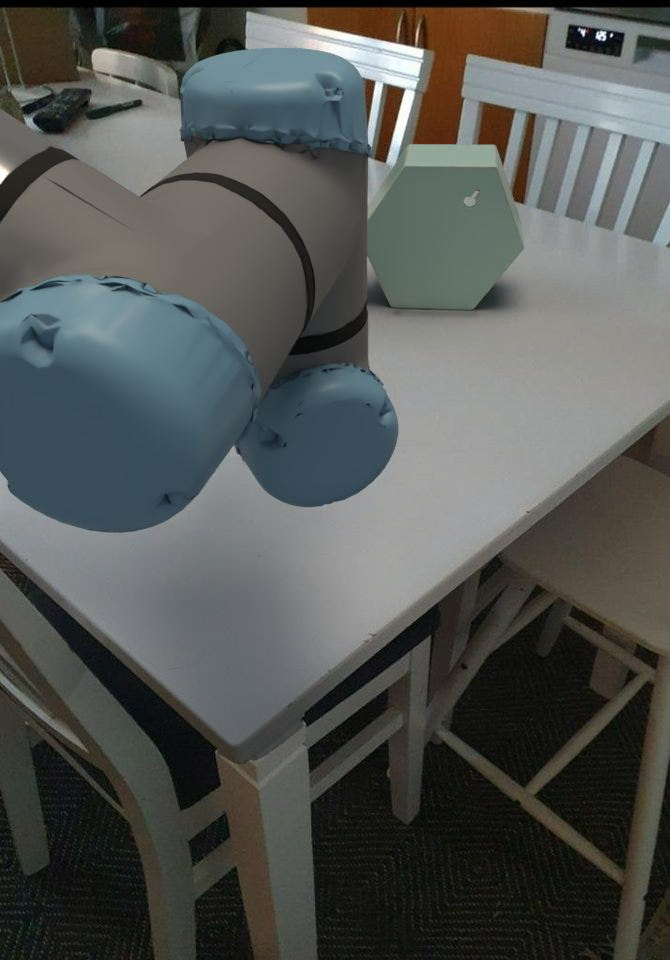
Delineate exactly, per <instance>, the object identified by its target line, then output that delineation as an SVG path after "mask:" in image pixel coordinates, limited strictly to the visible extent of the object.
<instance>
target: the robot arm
mask: <svg viewBox="0 0 670 960" xmlns="http://www.w3.org/2000/svg"><path fill="white" fill-rule="evenodd" d="M179 96H180V120H181V126H180V129H178V130H179V133H180V141H181V143H182V142H183V145H184V150H185V154H186V159H185V160H183V161H182V162H181V163H180V164H178V165H177V166H176V167H175V168H174V169H172V170H171V171H170V172H168V173H167V174H166V175H165V176H163V177H162V178H161V179H160V180H159V181H158V182H156V183H155V184H153V185H152V186H150V187H149V188H147V190H145V191H144V192H143V193H142V194H140V196H139V195H137V194H136V193H135V192H133V191H132V190H130V189H128V188H127V187H125V186H124V185H122V184H121V183H119V182H118V181H116V180H114V179H113V178H111V177H110V176H108V175H107V174H105V173H103V172H102V171H100V170H98V169H96V168H95V167H93V166H91V165H89V164H88V163H86V162H84V161H82V160H81V159H79V158H77V157H76V156H75V155H73V154H71V153H70V152H68V151H67V150H65V149H64V148H62V147H61V146H59V145H57V144H56V143H54V142H53V141H52V140H49V138H47V137H45V136H43V135H42V134H40V133H39V132H38V131H36V130H34V129H33V128H31V127H29V126H28V125H27V124H25V123H24V122H21V120H18V118H15V117H14V116H13V115H11V114H9V113H8V112H7V111H5V110H3V109H2V108H0V473H1V475H2V476H3V478H4V479H5V480H6V482H7V483H6V484H7V489H8V491H9V492H10V494H11V495H12V496H14V497H15V498H16V499H18V500H19V501H20V502H22V503H23V504H25V505H26V506H28V507H29V508H31V509H32V510H34V511H36V512H38V513H40V514H41V515H44V516H45V517H47V518H49V519H52V520H55V521H57V522H58V523H61V524H65V525H68V526H71V527H74V528H79V529H82V530H86V531H90V532H98V533H110V534H111V533H113V534H116V533H117V534H119V533H120V534H122V533H123V534H125V533H132V532H133V533H134V532H139V531H142V530H146V529H149V528H154V527H156V526H159V525H161V524H164V523H165V522H167V521H168V520H170V519H172V518H173V517H175V516H176V515H178V514H179V513H181V512H182V511H183V510H184V509H185V508H187V507H188V505H190V504H191V502H192V501H193V500H194V499H195V498H196V497H197V496H199V494H200V493H201V492H202V490H203V489H204V487H205V486H206V485H207V483H208V482H209V480H210V479H211V478H212V477H213V475H214V473H216V471H217V469H218V468H219V466H220V465H221V464H222V463H223V461H224V460H225V458H226V457H227V455H229V453H230V451H231V450H232V448H233V447H234V449H235V451H236V454H237V455H239V457H240V458H241V459H242V461H244V463H245V464H246V466H247V467H248V469H249V471H250V472H251V474H252V475H253V477H254V479H255V480H256V482H257V483H258V484H259V486H260V487H261V488H262V489H263V490H264V492H266V493H267V494H268V495H270V496H271V497H273V498H274V499H276V500H277V501H279V502H282V503H284V504H287V505H291V506H294V507H301V508H317V507H323V506H325V505H331V504H333V503H337V502H342V501H345V500H347V499H349V498H352V497H353V496H355V495H357V494H358V493H361V491H363V490H365V489H366V488H367V487H369V486H370V485H371V484H372V483H374V481H375V480H376V479H378V477H379V476H380V475H381V474H382V472H383V471H384V470H385V469H386V467H387V465H388V464H389V462H390V461H391V459H392V457H393V454H394V452H395V449H396V446H397V443H398V439H399V429H400V428H399V420H398V415H397V412H396V408H395V406H394V405H393V402H392V400H391V398H389V395H388V393H387V389H385V387H384V385H385V383H383V381H381V379H380V378H379V377H378V376H377V375H376V373H374V372H373V371H372V370H371V367H370V364H369V360H370V359H369V311H368V256H367V216H368V205H369V202H368V201H369V199H368V198H369V196H368V195H369V187H368V186H369V159H370V158H372V156H373V148H372V146H371V145H370V144H369V134H368V133H369V132H368V131H369V130H368V118H367V104H366V103H367V102H366V101H367V100H366V87H365V82H364V79H363V77H362V75H361V73H360V71H359V69H358V68H357V67H356V66H355V65H354V64H353V63H352V62H351V61H349V60H348V59H346V58H344V57H342V56H340V55H338V54H335V53H332V52H328V51H323V50H319V49H313V48H312V49H311V48H302V47H301V48H299V47H260V48H251V49H249V48H248V49H242V50H241V49H240V50H233V51H228V52H224V53H220V54H216V55H212V56H210V57H206V58H204V59H202V60H200V61H198V62H196V63H195V64H193V65H192V66H191V67H190V68H189V69H188V70H187V71H186V72H185V74H184V76H182V81H181V85H180V87H179Z"/></svg>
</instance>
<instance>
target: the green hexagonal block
mask: <svg viewBox="0 0 670 960" xmlns="http://www.w3.org/2000/svg"><path fill="white" fill-rule="evenodd" d="M477 191H478V193H477V194H476V195H475V196H474V201H475V203H474V205H471V206H469V205H467V204H466V203H465V199H466V198H472V197H473V195H474V194H475V193H476V192H477ZM520 217H521V216H520V214H519V211H518V207H517V205H516V202H515V199H514V196H513V192H512V190H511V187H510V183H509V180H508V177H507V174H506V172H505V168H504V166H503V162H502V159H501V156H500V152H499V150H498V147H497V145H496V144H471V143H470V144H467V143H466V144H461V143H454V144H453V143H452V144H451V143H450V144H449V143H448V144H447V143H446V144H445V143H442V144H441V143H440V144H439V143H438V144H437V143H434V144H433V143H431V144H429V143H409V144H407V146H406V147H405V149H404V150H403V152H402V153H401V154H400V156H399V158H398V159H397V161H396V163H395V164H394V166H393V167H392V168H391V170H390V172H389V173H388V174H387V176H386V177H385V179H384V180H383V182H382V183H381V185H380V187H379V188H378V190H376V192H375V194H374V195H373V197H372V199H371V200H370V201H369V202H368V216H367V259H368V261H369V262H370V265H371V267H372V269H373V271H374V274H375V276H376V278H377V280H378V282H379V285H380V288H381V289H382V291H383V293H384V295H385V298H386V300H387V302H388V305H389V306H390V307H391V308H394V309H395V308H399V309H425V310H427V309H428V310H430V309H431V310H460V311H464V310H465V311H466V310H467V311H473V310H474V309H475V308H477V306H478V305H479V303H480V302H482V300H483V298H484V297H486V295H487V294H488V293H489V292H490V290H491V289H492V288H493V287H494V286H495V284H496V283H497V282H498V281H499V279H500V278H501V277H502V276H503V275H504V274H505V272H506V271H507V270H508V269H509V267H510V266H511V265H512V264H513V263H514V262H515V261H516V259H517V258H518V257H519V256H520V255H521V253H522V252H523V251H524V249H525V243H524V234H523V233H524V232H523V225H522V220H521V218H520Z"/></svg>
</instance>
